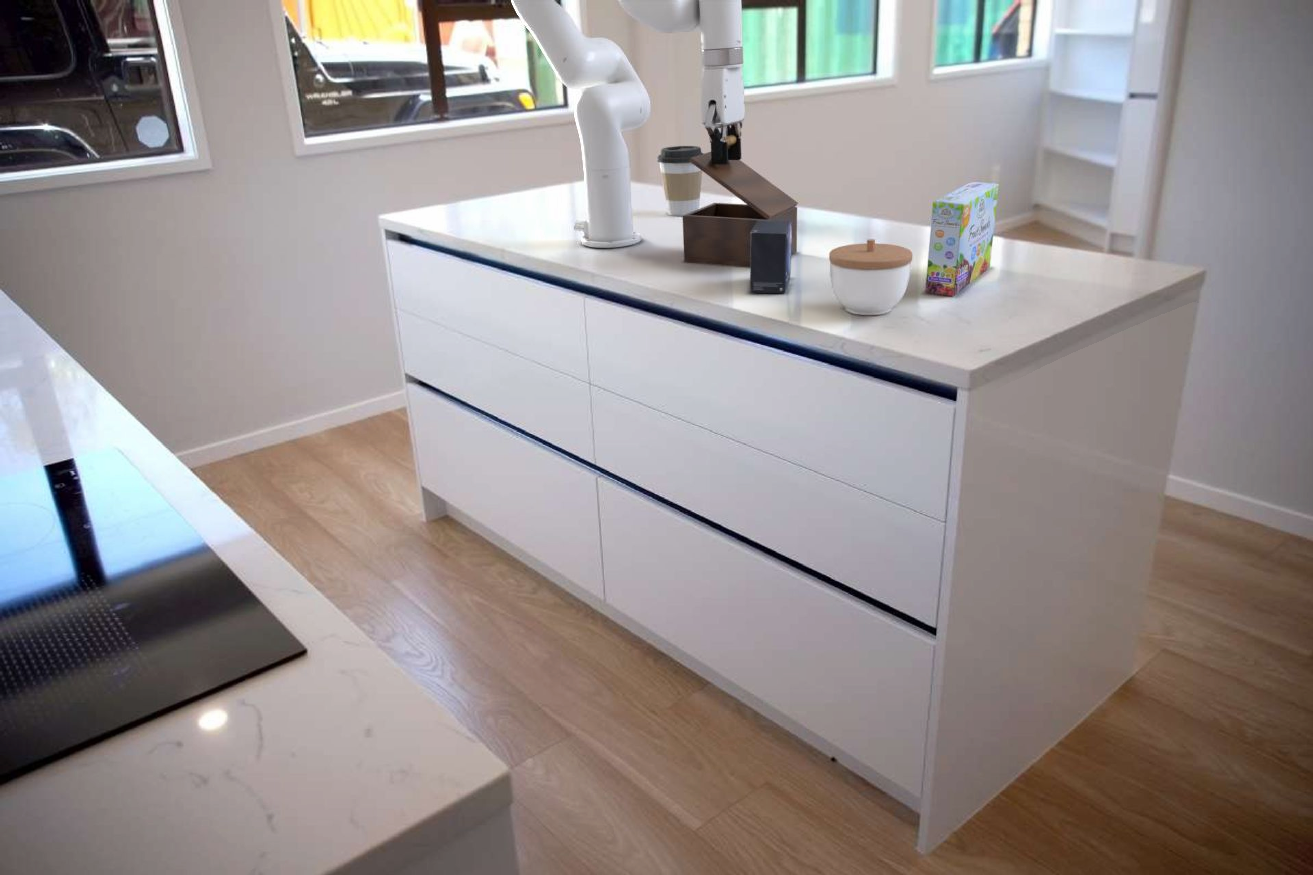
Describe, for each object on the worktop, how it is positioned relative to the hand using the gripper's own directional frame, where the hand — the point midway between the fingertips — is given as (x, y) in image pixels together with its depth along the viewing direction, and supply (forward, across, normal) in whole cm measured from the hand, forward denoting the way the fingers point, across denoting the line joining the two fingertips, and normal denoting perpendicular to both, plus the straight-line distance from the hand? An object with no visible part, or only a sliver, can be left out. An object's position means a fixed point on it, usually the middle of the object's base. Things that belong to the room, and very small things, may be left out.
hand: (726, 161), depth 188 cm
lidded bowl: (+20, +26, +36) cm, 49 cm away
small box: (+19, +18, +16) cm, 31 cm away
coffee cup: (+17, -37, -30) cm, 51 cm away
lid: (+4, 0, +3) cm, 5 cm away
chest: (+18, 0, +2) cm, 18 cm away
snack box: (+20, +4, +45) cm, 49 cm away
